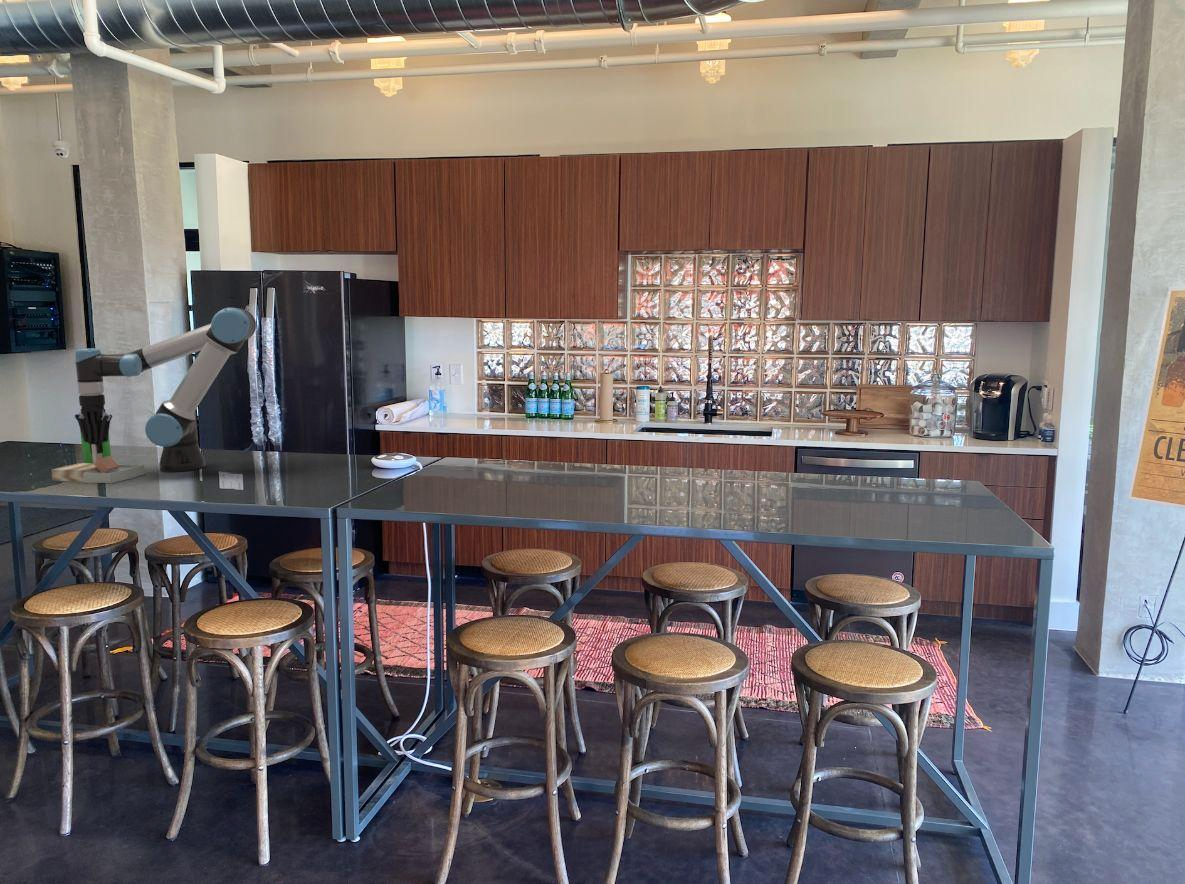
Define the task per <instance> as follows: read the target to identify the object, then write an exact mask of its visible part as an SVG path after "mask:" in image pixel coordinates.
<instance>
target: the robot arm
mask: <svg viewBox="0 0 1185 884" xmlns="http://www.w3.org/2000/svg"><path fill="white" fill-rule="evenodd" d="M256 328H257V321H256V319H255V317H254V315H253V314H252V313H251V312H250V311H248V310H246V309H244V308H240V307H226V308H222V309H221V310H219V311H217V313H215V314H214V316H213V317H212V319H211V322H210V323H209V324H205V325H204V326H201V327H198V328H195V329H192V330H190V331H187V332H183V333H180V334H178V335H176V336H173V337H171V338H167V339H164V340H161V341H159V342H156V343H153V344H150V345H148V346H144V347H141V348H139V349H136V350H133V351H130V352H126V353H120V354H119V353H118V354H117V353H116V354H114V353H113V354H112V353H111V354H104V353H102V352H101V350H100V348H92V347H91V348H78V349H76V350H75V352H74V353H75V354H74V355H75V357H74V358H75V362H74V363H75V369H76V377H77V391H78V394H79V396H78V404H79V406H80V407H81V409H80V412H79V413H78V414H77V413H76V414H75V415H74V418H75V420H77V423H78V426H79V430H81V432H80V434H81V433H82V436H83V439H84V442H88V443H89V444H90V451H91V453H92V457H93V463H95V462H96V461H97V460H98V459H99V458H102V453H103V446H102V444H103V443H104V442H107V441H108V434H109V435H110V427H111V425H110V424H111V421H112V418H113V415H112V414H108V413H107V411H106V409H105V405H106V399H105V394H103V393H104V392H105V390H104V389H105V388H104V377H127V378H130V377H138V376H140V375H141V373H143V372H145V371H147V370H150V369H152V368H155V367H158V366H161V365H163V364H166V363H169V362H172V361H175V360H177V359H181V358H183V357H187V356H190V355H191V354H194V353H198V352H199V353H198V355H197V356H196V358H195V360H194V361H193V363H192V365H191V366H190V367H189V369H188V371H186V374H185V375H184V376H183V379H182V380H181V382H180V383H179V384H178V386H177V388H176V389H175V391H174V392H173V394H172V396H171V397H170V399H167V400H163V401H162V403H161V404H160V406H159V407H158V409H157V410H156V411H155V414H153V415H152V416H150V417H149V418H148V420H147V421H146V424H145V427H144V431H145V434H146V437H147V439H148V440H149V441H150V442H151V443H152V444H154V445H155V446H158V447H162V450H161V455H160V459H159V463H158V464H159V465H158V467H159V471H160V472H170V473H171V472H186V471H193V470H198V469H203V468H205V467H206V460H205V458H204V455H203V453H202V450H201V449H200V446H199V439H198V438H199V437H198V427H197V426H198V424H197V417H196V416H197V412H196V410H197V408H198V407H199V405H200V403H201V402H202V400H203V398H204V397H205V395H206V394H207V392H208V391H209V389H210V388H211V385H212V384H213V383H214V381H215V380H216V378H217V377H218V375H219V373H220V371H221V370H222V369H223V367H224V365H225V364H226V362H227V360H228V359H229V357H230V356H231V355H234V354H238V352H239V351H240V349H241V348H242V346H243V345H244V343H245V341H246V340H249V339H250V338H252V336H253V335H254V333H255V332H256Z"/></svg>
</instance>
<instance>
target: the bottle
mask: <svg viewBox="0 0 1185 884" xmlns="http://www.w3.org/2000/svg"><path fill="white" fill-rule="evenodd" d="M79 430H80V429H79ZM80 439H81V451H82V457H83V463H93V457H92V453H91V451H90V444H89V443H88V442H84V439H83V436H82V433H81V430H80ZM102 446H103V453H102V458H103V457H107V456H110V457H111V458H112V451H111V442H110V433H109V434H108V441H107V442H104V443H103V444H102Z"/></svg>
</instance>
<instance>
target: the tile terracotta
mask: <svg viewBox="0 0 1185 884" xmlns="http://www.w3.org/2000/svg"><path fill="white" fill-rule="evenodd" d="M117 464H118V463H117V462H116V461H115V460H114V459H113V458H112V456H111V457H110V456H107V457H103V458H99V459H98V460H97V461H96V462H95V463H94V465H95V466H96V467H97V469H98V470H99V471H100V472H101V473H108V470H111V469H114V468H118V467H119V466H118V465H117Z"/></svg>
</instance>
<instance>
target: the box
mask: <svg viewBox="0 0 1185 884" xmlns="http://www.w3.org/2000/svg"><path fill="white" fill-rule="evenodd" d="M116 464H117V465H118V466H119V467H118V468H128V469H124V470H121V471H117V472H113V473H101V472H100V471H99V470H98V469H97V470H93V471H89V472H85V473H83V477H84V482H83V484H93V483H106V484H105V485H112V483H113V484H116V482H117V483H120V482H124V481H127V480H131V479H134V478H133V477H135V478H138V477H141V476H140V475H142V476H145V474H146V473H145V472H146V471H145V464H125V463H123V464H122V463H121V464H120V463H116ZM137 476H138V477H137ZM130 478H131V479H130ZM126 479H127V480H126ZM123 480H124V481H123ZM119 481H120V482H119ZM107 483H109V484H107Z"/></svg>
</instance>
